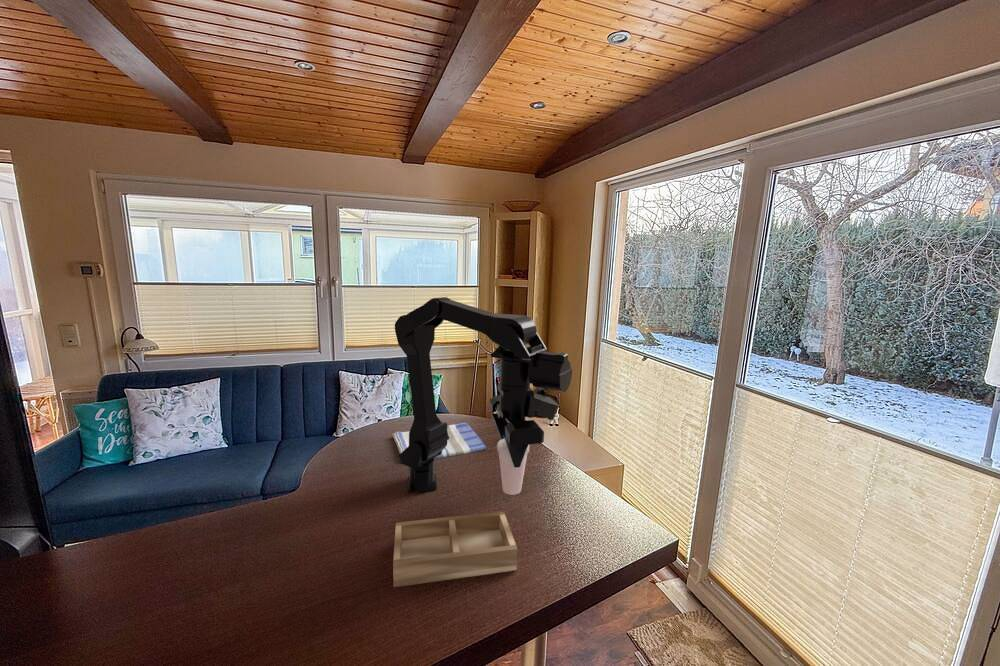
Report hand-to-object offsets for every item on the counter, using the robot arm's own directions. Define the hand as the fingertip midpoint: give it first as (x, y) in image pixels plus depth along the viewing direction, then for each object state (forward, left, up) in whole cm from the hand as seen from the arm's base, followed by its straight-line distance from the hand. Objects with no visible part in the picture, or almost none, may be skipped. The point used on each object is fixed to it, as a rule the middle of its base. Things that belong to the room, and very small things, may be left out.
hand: (512, 458), depth 79 cm
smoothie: (0, 0, -7) cm, 7 cm away
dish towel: (-37, -12, -14) cm, 41 cm away
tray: (+9, -12, -13) cm, 20 cm away
